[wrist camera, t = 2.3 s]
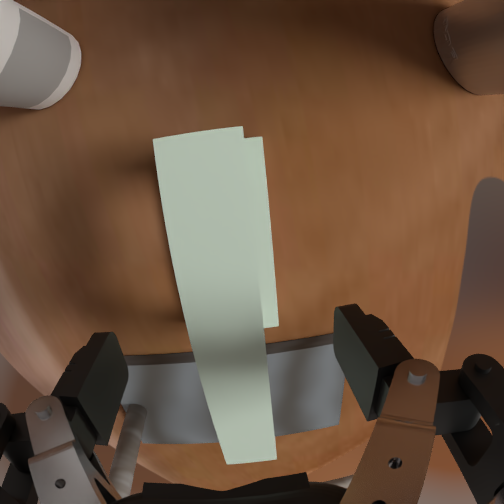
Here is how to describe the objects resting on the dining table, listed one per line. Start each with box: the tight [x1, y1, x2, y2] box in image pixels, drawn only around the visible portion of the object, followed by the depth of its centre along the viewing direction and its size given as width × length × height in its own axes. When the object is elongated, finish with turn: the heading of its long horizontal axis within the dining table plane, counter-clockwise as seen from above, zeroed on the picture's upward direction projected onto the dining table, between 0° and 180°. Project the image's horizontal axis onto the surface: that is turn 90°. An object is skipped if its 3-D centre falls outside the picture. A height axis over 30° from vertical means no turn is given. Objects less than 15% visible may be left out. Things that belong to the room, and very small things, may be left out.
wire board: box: [109, 333, 354, 498], centre depth 20 cm, size 24×12×18 cm, turn 96°
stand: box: [153, 126, 279, 464], centre depth 17 cm, size 6×14×14 cm, turn 6°
